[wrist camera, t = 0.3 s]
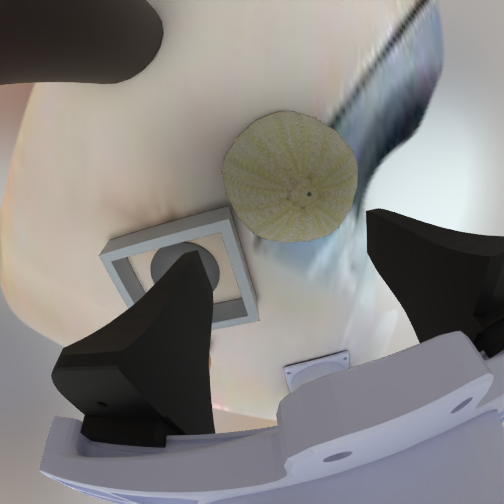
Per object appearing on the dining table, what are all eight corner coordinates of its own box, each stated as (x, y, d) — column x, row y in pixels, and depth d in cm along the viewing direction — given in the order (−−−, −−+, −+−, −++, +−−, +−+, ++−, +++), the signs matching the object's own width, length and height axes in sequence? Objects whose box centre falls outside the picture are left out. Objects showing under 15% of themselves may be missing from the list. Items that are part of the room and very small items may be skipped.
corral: (257, 301, 26) (259, 320, 23) (153, 322, 26) (149, 340, 24) (229, 205, 21) (228, 219, 19) (109, 240, 21) (98, 255, 19)
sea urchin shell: (286, 74, 15) (383, 154, 12) (318, 129, 22) (384, 196, 19) (184, 170, 17) (250, 269, 15) (241, 198, 24) (295, 271, 22)
